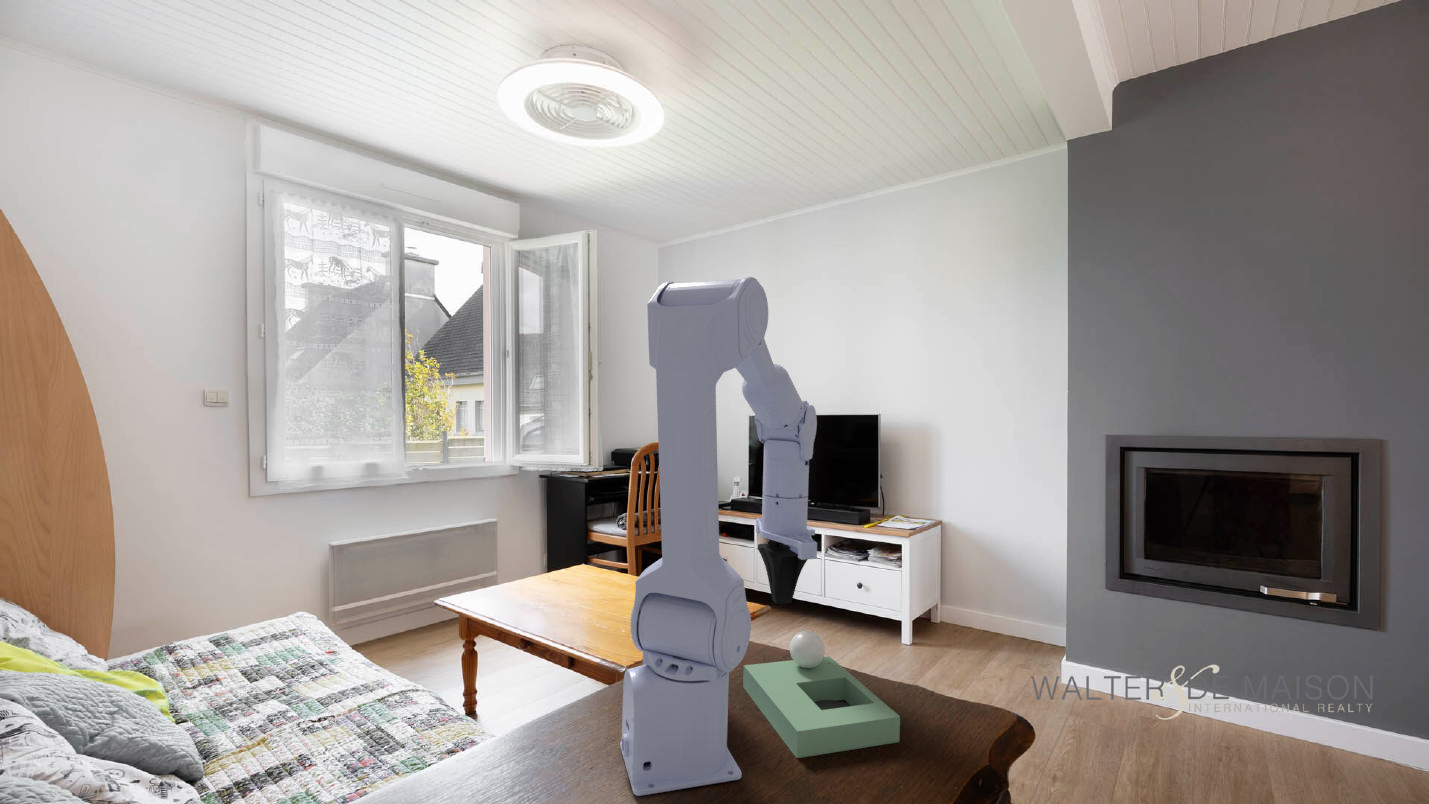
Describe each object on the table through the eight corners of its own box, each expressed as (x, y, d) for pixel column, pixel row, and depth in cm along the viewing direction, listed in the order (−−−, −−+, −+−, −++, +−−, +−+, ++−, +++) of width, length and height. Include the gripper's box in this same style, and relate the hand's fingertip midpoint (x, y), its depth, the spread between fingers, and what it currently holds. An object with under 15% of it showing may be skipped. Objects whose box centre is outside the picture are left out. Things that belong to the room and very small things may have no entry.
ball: (798, 676, 69) (799, 640, 69) (783, 661, 73) (784, 627, 73) (830, 672, 70) (831, 637, 70) (814, 657, 74) (815, 624, 74)
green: (796, 758, 57) (797, 731, 57) (742, 687, 71) (743, 665, 71) (899, 742, 61) (900, 716, 61) (828, 676, 75) (829, 656, 75)
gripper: (841, 504, 73) (838, 619, 73) (790, 485, 87) (787, 582, 87) (786, 505, 71) (782, 624, 71) (742, 486, 84) (740, 586, 85)
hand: (782, 601), depth 79 cm, fingers closed
